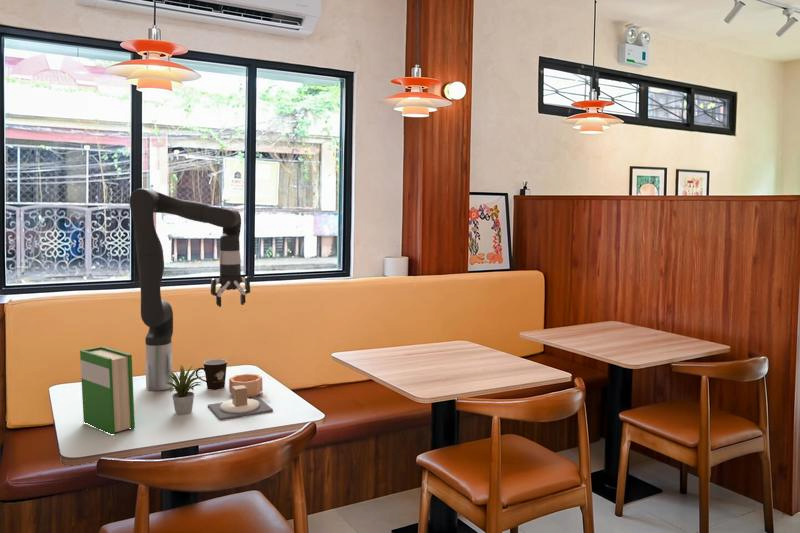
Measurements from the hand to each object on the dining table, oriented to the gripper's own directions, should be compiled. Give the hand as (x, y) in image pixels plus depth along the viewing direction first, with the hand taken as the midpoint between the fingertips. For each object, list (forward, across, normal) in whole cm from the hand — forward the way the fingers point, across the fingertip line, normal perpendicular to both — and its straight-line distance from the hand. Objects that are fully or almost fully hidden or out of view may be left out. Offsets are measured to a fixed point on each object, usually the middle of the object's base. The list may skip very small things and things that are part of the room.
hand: (230, 305), depth 248 cm
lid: (+31, +4, +26) cm, 40 cm away
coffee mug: (+32, +7, -4) cm, 33 cm away
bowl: (+32, -2, +10) cm, 33 cm away
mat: (+32, +4, +26) cm, 41 cm away
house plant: (+32, +22, +21) cm, 44 cm away
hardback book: (+32, +46, +22) cm, 60 cm away
